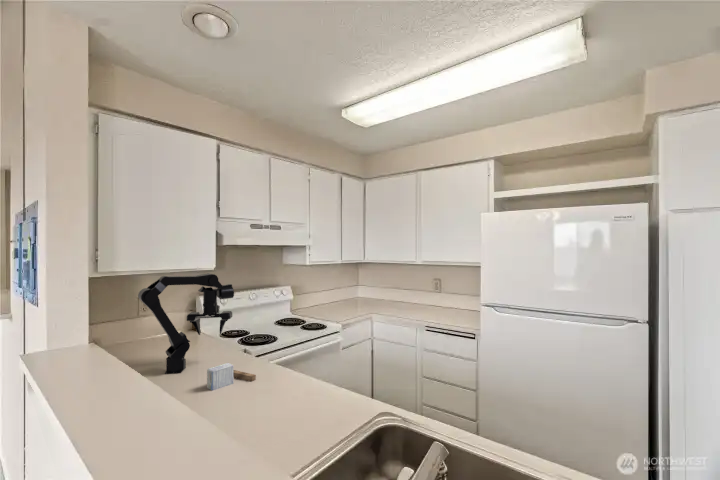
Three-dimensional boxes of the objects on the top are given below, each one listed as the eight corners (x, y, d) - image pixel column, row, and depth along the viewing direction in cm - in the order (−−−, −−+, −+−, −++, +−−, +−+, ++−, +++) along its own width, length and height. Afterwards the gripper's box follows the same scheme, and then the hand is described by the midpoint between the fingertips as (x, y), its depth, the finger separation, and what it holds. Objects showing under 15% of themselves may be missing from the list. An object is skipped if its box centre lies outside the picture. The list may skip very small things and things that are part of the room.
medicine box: (228, 362, 133) (206, 368, 126) (234, 364, 130) (212, 371, 123) (228, 382, 132) (206, 389, 126) (234, 385, 130) (212, 392, 123)
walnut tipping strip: (229, 377, 137) (229, 371, 137) (233, 375, 139) (233, 369, 139) (252, 382, 132) (252, 376, 132) (255, 381, 133) (255, 374, 133)
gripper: (234, 297, 163) (234, 328, 163) (194, 298, 160) (194, 330, 160) (229, 301, 152) (229, 335, 152) (186, 302, 149) (186, 337, 149)
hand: (210, 334), depth 154 cm, fingers open, 9 cm apart
